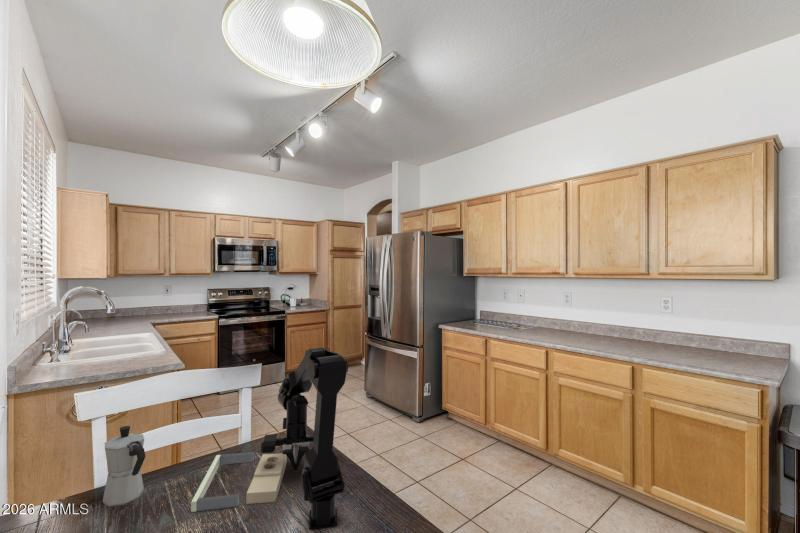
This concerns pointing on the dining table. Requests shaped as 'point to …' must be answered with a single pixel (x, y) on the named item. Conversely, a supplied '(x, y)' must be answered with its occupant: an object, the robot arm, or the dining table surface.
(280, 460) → the electrical outlet
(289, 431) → the robot arm
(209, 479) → the bracket rack
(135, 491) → the coffee maker
